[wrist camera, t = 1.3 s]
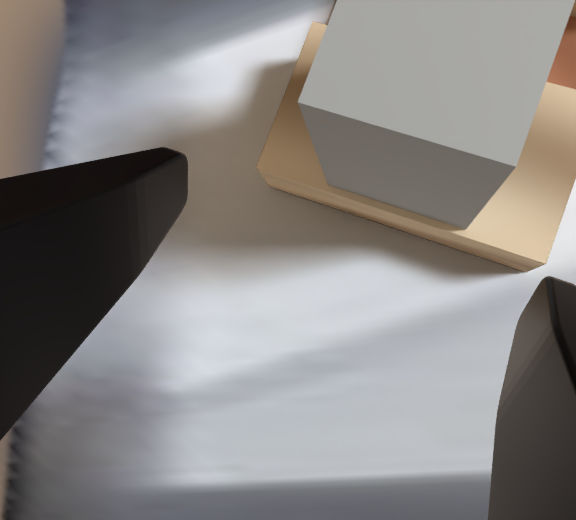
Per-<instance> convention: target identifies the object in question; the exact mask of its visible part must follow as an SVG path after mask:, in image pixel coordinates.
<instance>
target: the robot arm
mask: <svg viewBox="0 0 576 520" xmlns="http://www.w3.org/2000/svg"><path fill="white" fill-rule="evenodd" d="M187 195H188V161H187V158H186V156H185V155H184V154H183V153H181V152H178V151H175V150H172V149H169V148H165V147H160V148H155V149H150V150H145V151H140V152H135V153H130V154H125V155H120V156H115V157H110V158H105V159H99V160H94V161H89V162H84V163H79V164H74V165H69V166H64V167H59V168H54V169H49V170H44V171H39V172H34V173H29V174H24V175H18V176H13V177H8V178H3V179H0V440H1V439H2V438H3V437H4V436H5V434H6V433H7V432H8V431H9V430H10V428H11V427H12V426H13V425H14V424H15V422H16V421H17V420H18V419H19V418H20V417H21V415H22V414H23V413H24V412H25V411H26V409H27V408H28V407H29V406H30V405H31V403H32V402H33V401H34V400H35V399H36V397H37V396H38V395H39V394H40V393H41V392H42V390H43V389H44V388H45V387H46V386H47V384H48V383H49V382H50V381H51V380H52V378H53V377H54V376H55V375H56V374H57V372H58V371H59V370H60V369H61V368H62V367H63V365H64V364H65V363H66V362H67V361H68V359H69V358H70V357H71V356H72V355H73V353H74V352H75V351H76V350H77V349H78V347H79V346H80V345H81V344H82V343H83V341H84V340H85V339H86V338H87V337H88V336H89V334H90V333H91V332H92V331H93V330H94V328H95V327H96V326H97V325H98V324H99V322H100V321H101V320H102V319H103V318H104V316H105V315H106V314H107V313H108V312H109V311H110V309H111V308H112V307H113V306H114V305H115V303H116V302H117V301H118V300H119V299H120V297H121V296H122V295H123V294H124V293H125V291H126V290H127V289H128V288H129V287H130V286H131V284H132V283H133V282H134V281H135V279H136V278H137V277H138V276H139V274H140V273H141V272H142V271H143V269H144V268H145V266H146V265H147V263H148V262H149V261H150V259H151V257H152V256H153V254H154V253H155V251H156V250H157V248H158V247H159V245H160V244H161V242H162V241H163V239H164V238H165V236H166V235H167V233H168V232H169V230H170V228H171V227H172V225H173V224H174V222H175V221H176V219H177V218H178V216H179V215H180V213H181V212H182V210H183V208H184V206H185V204H186V201H187ZM488 520H576V285H574V284H572V283H569V282H566V281H563V280H560V279H557V278H554V277H551V276H548V277H545V278H544V279H543V280H542V281H541V282H540V284H539V285H538V287H537V289H536V290H535V292H534V294H533V295H532V297H531V299H530V300H529V302H528V304H527V305H526V307H525V309H524V310H523V312H522V314H521V316H520V318H519V320H518V323H517V326H516V330H515V334H514V339H513V343H512V347H511V352H510V356H509V361H508V365H507V370H506V374H505V378H504V383H503V387H502V392H501V396H500V401H499V406H498V411H497V418H496V427H495V439H494V451H493V462H492V474H491V486H490V498H489V510H488Z"/></svg>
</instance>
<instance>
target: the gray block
mask: <svg viewBox="0 0 576 520" xmlns="http://www.w3.org/2000/svg"><path fill="white" fill-rule="evenodd" d="M574 2H575V0H337V1H336V4H335V7H334V9H333V12H332V14H331V17H330V20H329V22H328V25H327V27H326V30H325V33H324V35H323V38H322V40H321V43H320V45H319V48H318V51H317V53H316V56H315V58H314V61H313V64H312V66H311V69H310V71H309V74H308V77H307V79H306V82H305V84H304V87H303V89H302V92H301V95H300V97H299V100H298V105H299V107H300V110H301V113H302V116H303V118H304V121H305V124H306V127H307V129H308V132H309V135H310V137H311V140H312V143H313V146H314V148H315V151H316V154H317V157H318V159H319V162H320V165H321V167H322V170H323V173H324V176H325V178H326V181H327V184H328V185H330V186H333V187H336V188H339V189H342V190H345V191H348V192H352V193H355V194H358V195H361V196H364V197H367V198H370V199H373V200H376V201H379V202H382V203H385V204H388V205H391V206H394V207H398V208H401V209H404V210H407V211H410V212H413V213H416V214H419V215H422V216H425V217H428V218H431V219H434V220H437V221H440V222H444V223H447V224H450V225H453V226H456V227H459V228H462V229H465V230H466V229H467V228H468V226H469V225H470V224H471V223H472V221H473V220H474V219H475V218H476V216H477V215H478V214H479V213H480V211H481V210H482V209H483V208H484V206H485V205H486V204H487V203H488V201H489V200H490V199H491V198H492V196H493V195H494V194H495V193H496V191H497V190H498V189H499V188H500V186H501V185H502V184H503V183H504V181H505V180H506V179H507V178H508V176H509V175H510V174H511V173H512V171H513V170H514V169H515V168H516V166H517V163H518V160H519V158H520V155H521V152H522V149H523V146H524V143H525V141H526V138H527V135H528V132H529V129H530V127H531V124H532V121H533V118H534V115H535V112H536V110H537V107H538V104H539V101H540V98H541V95H542V93H543V90H544V87H545V84H546V81H547V78H548V76H549V73H550V70H551V67H552V64H553V62H554V59H555V56H556V53H557V50H558V47H559V45H560V42H561V39H562V36H563V33H564V30H565V28H566V25H567V22H568V19H569V16H570V13H571V11H572V8H573V5H574Z"/></svg>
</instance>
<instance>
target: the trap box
mask: <svg viewBox="0 0 576 520" xmlns="http://www.w3.org/2000/svg"><path fill="white" fill-rule="evenodd" d="M326 27H327V25H325V24H321V23H318V22H314V21H313V22H312V25H311V27H310V30H309V32H308V35H307V38H306V40H305V43H304V45H303V48H302V50H301V53H300V56H299V58H298V61H297V63H296V66H295V68H294V71H293V74H292V76H291V79H290V81H289V84H288V86H287V89H286V92H285V94H284V97H283V99H282V102H281V104H280V107H279V110H278V112H277V115H276V117H275V120H274V122H273V125H272V128H271V130H270V133H269V135H268V138H267V140H266V143H265V146H264V148H263V151H262V153H261V156H260V158H259V161H258V164H257V166H256V169H257V171H258V172H259V173H260V174H261V176H262V177H263V178H264V180H265V181H266V182H267V184H268V185H269V186H270V187H273V188H276V189H279V190H282V191H285V192H288V193H291V194H294V195H297V196H300V197H303V198H306V199H309V200H312V201H315V202H318V203H321V204H324V205H327V206H330V207H333V208H335V209H338V210H341V211H344V212H347V213H350V214H353V215H356V216H359V217H362V218H365V219H368V220H371V221H374V222H377V223H380V224H383V225H386V226H389V227H392V228H395V229H398V230H401V231H404V232H407V233H410V234H413V235H416V236H419V237H422V238H425V239H428V240H431V241H434V242H437V243H440V244H443V245H446V246H449V247H452V248H455V249H458V250H461V251H464V252H467V253H470V254H473V255H476V256H479V257H482V258H485V259H488V260H491V261H494V262H497V263H500V264H503V265H506V266H509V267H512V268H515V269H518V270H521V271H524V272H528V271H530V270H533V269H535V268H537V267H540V266H542V265H544V264H546V263H547V260H548V257H549V254H550V251H551V248H552V245H553V242H554V239H555V236H556V234H557V231H558V228H559V225H560V222H561V219H562V216H563V213H564V210H565V208H566V205H567V202H568V199H569V196H570V193H571V190H572V187H573V184H574V181H575V179H576V0H575V2H574V5H573V8H572V11H571V13H570V16H569V19H568V22H567V25H566V28H565V30H564V33H563V36H562V39H561V42H560V45H559V47H558V50H557V53H556V56H555V59H554V62H553V64H552V67H551V70H550V73H549V76H548V78H547V81H546V84H545V87H544V90H543V93H542V95H541V98H540V101H539V104H538V107H537V110H536V112H535V115H534V118H533V121H532V124H531V127H530V129H529V132H528V135H527V138H526V141H525V143H524V146H523V149H522V152H521V155H520V158H519V160H518V163H517V166H516V168H515V169H514V170H513V171H512V173H511V174H510V175H509V176H508V178H507V179H506V180H505V181H504V183H503V184H502V185H501V186H500V188H499V189H498V190H497V191H496V193H495V194H494V195H493V196H492V198H491V199H490V200H489V201H488V203H487V204H486V205H485V206H484V208H483V209H482V210H481V211H480V213H479V214H478V215H477V216H476V218H475V219H474V220H473V221H472V223H471V224H470V225H469V226H468V228H467V229H466V230H465V229H462V228H459V227H456V226H453V225H450V224H447V223H444V222H440V221H437V220H434V219H431V218H428V217H425V216H422V215H419V214H416V213H413V212H410V211H407V210H404V209H401V208H398V207H394V206H391V205H388V204H385V203H382V202H379V201H376V200H373V199H370V198H367V197H364V196H361V195H358V194H355V193H352V192H348V191H345V190H342V189H339V188H336V187H333V186H330V185H328V184H327V181H326V178H325V176H324V173H323V170H322V167H321V165H320V162H319V159H318V157H317V154H316V151H315V148H314V146H313V143H312V140H311V137H310V135H309V132H308V129H307V127H306V124H305V121H304V118H303V116H302V113H301V110H300V107H299V105H298V100H299V97H300V95H301V92H302V89H303V87H304V84H305V82H306V79H307V77H308V74H309V71H310V69H311V66H312V64H313V61H314V58H315V56H316V53H317V51H318V48H319V45H320V43H321V40H322V38H323V35H324V33H325V30H326Z"/></svg>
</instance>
